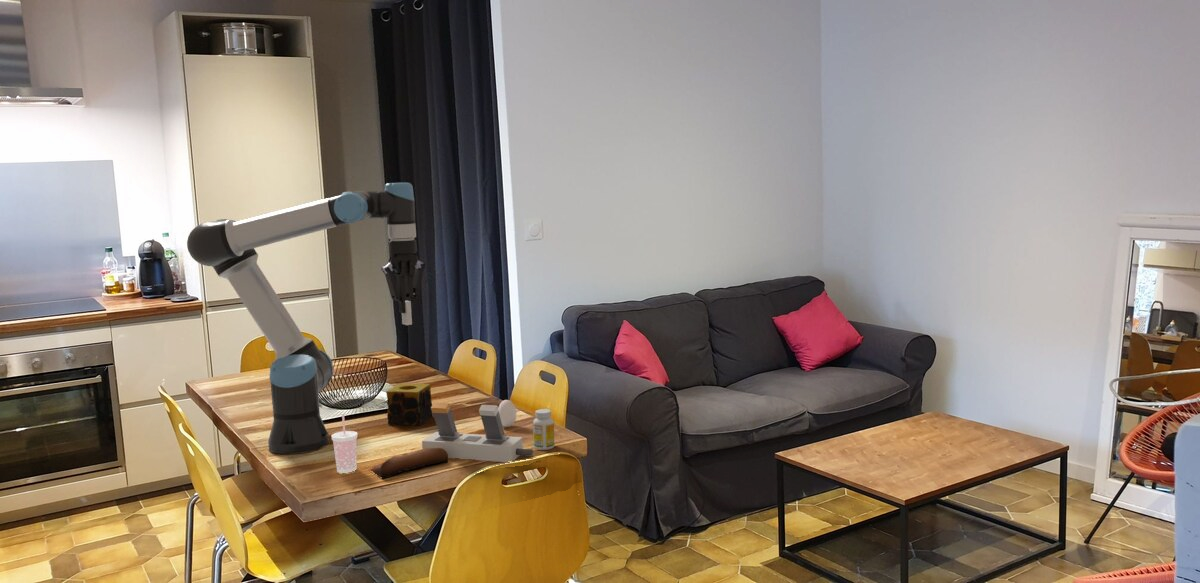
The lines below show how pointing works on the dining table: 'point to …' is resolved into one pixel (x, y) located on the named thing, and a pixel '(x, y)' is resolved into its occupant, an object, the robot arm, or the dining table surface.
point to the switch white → (492, 422)
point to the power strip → (478, 447)
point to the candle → (409, 404)
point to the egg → (507, 413)
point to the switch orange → (444, 419)
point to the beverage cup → (345, 449)
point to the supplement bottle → (543, 430)
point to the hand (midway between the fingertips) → (407, 324)
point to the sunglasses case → (410, 461)
